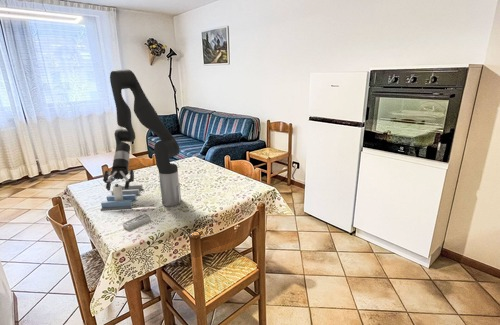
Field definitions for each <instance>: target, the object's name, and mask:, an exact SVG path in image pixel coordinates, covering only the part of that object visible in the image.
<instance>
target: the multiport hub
mask: <svg viewBox="0 0 500 325" xmlns="http://www.w3.org/2000/svg"><path fill="white" fill-rule="evenodd" d="M149 221H151V216H150V215H149V214H147V213H142V214H141V215H138V216H136V217H133V218H131V219H129V220H127V221H125V222H122V227H123V228H124V229H125V230H126V231H127V230H128V231H130V230H132V229H134V228H136V227H138V226H141V225H143V224H145V223H146V222H149Z"/></svg>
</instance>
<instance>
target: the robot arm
mask: <svg viewBox="0 0 500 325" xmlns="http://www.w3.org/2000/svg"><path fill="white" fill-rule="evenodd" d="M109 81H110V87H111V91H112V96H113V99H114V103H115V110H116V122H117V125H118V127H120V128H117V129H116V130H115V131H114V139H115V153H114V156H113V160H112V168H111V171H108V170H105V171H104V175H103V179H102V180H103V182H104V183H105V184H106V185H105V189H106V190H107V191H109V192H110V190H111V187H112V186H111V184H112V183H113V182H115V180H125V183H124V184H125V189H126V190H127V189H128V188H129V185H130V183H133V182H134V180H135V171H134V169H130V170H129V166H130V155H131V154H130V151H131V145H130V144H129V143H133V142H134V141H135V139H136V133H135V131H134V130H135V129H134V127H133V123H132V112H131V108H130V106H128V103H127V102H126V101H125V99H124V97H123V94H122V91H123V90H126V89H127V90H128V89H129V90H130V91H131V93H132V94H133V97H134V98H133V99H134V101H133V113H134V114H135V116H136V117H137V119H138V121H139V123H140V124H141V125H142V126H144V127H145V128H146V129H147V130H149V131H151V132H152V133H154V134H155V136H157V137H158V138H159V140H160V141H157V142H156V143H154V147H153V152H154V157H155V165H156V167H157V169H158V177H159V187H160V195H161V196H160V197H161V204H162V205H163V206H165V207H173V206H174V207H175V206H177V205H180V204H181V201H182V195H181V194H182V193H181V183H180V181H179V169H178V168H179V167H178V165H177V164H176V163H171V161H170V159H171V158H174V157H176V156H179V154H180V146H179V143H178V141H177V140H176V138H175V137H174V136H173V135H172V133H171V132H170V131H169V129H168V128H167V127H166V125H165V123H164V122H163V121H162V120H161V119H162V118H160V116H159V114H158V112H157V111H156V109H155V108H154V107H153V105H152V103H151V102H150V100H149V99H148V97H147V95H146V94H145V91H144V90H143V88H142V86H141V83H140V82H139V80H138V78H137V77H136V75H135V73H134V72H133V71H132V70H131V69H115V70H112V71H111V72H110V74H109ZM128 175H129V178H128V177H127V176H128Z"/></svg>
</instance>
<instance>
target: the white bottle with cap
mask: <svg viewBox="0 0 500 325" xmlns="http://www.w3.org/2000/svg"><path fill="white" fill-rule="evenodd" d="M121 185H122V184H119V183H115V184H114V185H113V186H112V191H113V193H114V199H115V201H123V194H122V187H121Z"/></svg>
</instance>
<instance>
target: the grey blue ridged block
mask: <svg viewBox="0 0 500 325" xmlns="http://www.w3.org/2000/svg"><path fill="white" fill-rule="evenodd" d="M120 185H121V187H122V194H123V201H115V199H114V193H113V190H111V193H110V194H111V195H106V200H105V201H101V202H100V205H101V208H100V211H101V212H107V211H123V210H124V211H125V210H131V209H132V207H133V204H134V203H135V201H136V200H137V198H138V197H139V195H140V194H141V192H142V191H143V188H144V187H143V184H140V183H139V184H129V188H128V189H127V190H126V189H125V185H124V184H123V185H122V184H120Z"/></svg>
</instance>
